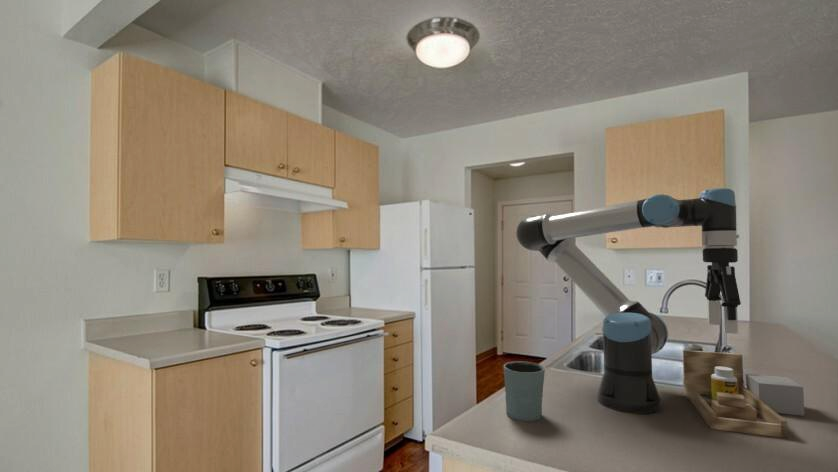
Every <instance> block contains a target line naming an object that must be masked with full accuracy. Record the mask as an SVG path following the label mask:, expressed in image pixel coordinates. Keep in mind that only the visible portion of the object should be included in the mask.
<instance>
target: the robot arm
mask: <svg viewBox="0 0 838 472" xmlns="http://www.w3.org/2000/svg"><path fill="white" fill-rule="evenodd" d="M694 226H695V227H700V226H701V245H702V247H704V248H703V249H702V261H703V263H711V264H709V265H707V272H706V273H707V274H706V282H705V283H706V284H705V291H704V297H705V298H706V300H707V317H708V319H707V320H708V324H707V325H716V326H721V323H722V320H721V316H723V317H722V318H723V333H724V334H735V335H737V334H739V326H738V325H739V324H738V306H740V305H742V302H741V299H740V298H741V297H740V293H739V288H738V284H737V277H736V270H735V269H736V268H735V266H730V263H733V264H735V263H738V258H739V257H738V254H739V253H738V249H737V248H736V247H737V245H738V240H737V239H739V238H740V234H737V204H736V195H735V191H734V190H732V189H731V188H723V187H722V188H712V189H704V190H702V191H701V192H700V196H699V197H697V198H689V199H677V198H674V197H672V196H670V195H669V194H668V195H667V194H654V195H652V196H649V197H647V198H644V199H638V200H633V201H628V202H627V201H626V202H621V203H616V204H610V205H605V206H601V207H600V206H599V207H595V208H589V209H584V210H580V211H575V212H567V213H561V214H557V215H552V214H551V213H545V214H538V215H529V216H526V217H525V218H523V219H522V220H521V221H520V222H519V223H518V225H517V228H516V233H515V234H516V238H517V241H518V243H519V244H520V245H521V247H523V248H525V249H527V250H528V251H529V250H530V251H535V252H536V251H538V252H540V254H541V255H542V256H543V257H544V258H545V259H546V260H547V261H548V262H549V263H550V262H552V263H556V264H557V266H558V267H560V269H561V270H562V271H563V273H565V274H566V275H567V276H568V277H569V279H570V280H571V281H572V282H573V283H574V284H575V286H577V287H578V288H579V289H580V290H581V292H582V293H584V295H585V296H586V297H587V298H588V299H589V300H590V301H591V302H592V304H594V305H595V307H596V308H597V309H598V310H599V311H600V312H601V313H602V315H604V316H605V317H604V318H603V323H602V330H601V331H602V341H603V343H602V344H603V373H602V374H603V375H602V377H601V381H600V384H599V387H598V389H597V400H598V402H599V403H600V404H601V405H603V406H605V407H606V408H607V407H608V408H610V409H613V410H617V411H621V412H625V413H632V414H633V413H634V414H651V413H657V412H658V411H660V410H661V408H662V403H661V397H660V394H659V391H658V388H657V385H656V383H655V381H654V377H653V358H652V357H653V355H655V354H657V353H658V352H659V351H661V350H663V348H664V347H665V345H666V344H667V341H668V338H669V330H668V326H667V324H666V323H665V322H664V320H663V319H662V318H661V317H660V316H658V315H657V314H655V313H653V312H649V310H647V309H646V307H644V306H643V305H642V304H641V303H640V302H639V301H637V300H636V301H635V300H630V298H628V297H627V296H626V295H625V294H624V293H623V292H622V291H621V290H620V289H619V287H617V286H616V284H614V283H613V282H612V281H611V280H610V279H609V277H607V276H606V275H605V273H604V272H602V271H601V269H600V268H599V267H597V265H596V264H595V263H594V262H593V261H592V260H591V259H590V258H589V257H588V256H587V255H586V254H585V253H584V252H583V251H582V250H581V249H580V248H579V247H578V246H577V245H576V240H577V239H576V238H580V237H589V236H594V235H595V236H596V235H602V234H609V233H615V232H623V231H630V230H636V229H643V228H650V227H654V228H665V229H667V228H668V229H669V228H682V227H683V228H684V227H694ZM720 294H721V296H720ZM721 301H723V302H722V303H721ZM721 307H722V312H723V313H722V315H721Z"/></svg>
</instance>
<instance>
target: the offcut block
mask: <svg viewBox="0 0 838 472" xmlns="http://www.w3.org/2000/svg"><path fill="white" fill-rule="evenodd" d="M717 401H718V404H719V405H726V406H734V407H742V408H745V398H744V397H743V395H739V394H730V393H721V392H717Z"/></svg>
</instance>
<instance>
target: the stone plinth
mask: <svg viewBox="0 0 838 472" xmlns="http://www.w3.org/2000/svg"><path fill="white" fill-rule="evenodd" d="M745 384H746V385H745V386H746V387H745V388H747V389H748V390H749V391H750V392H751V393H753V394H754V395H755V396H756V397H758V398H759V399H760V400H761V401H762V402H764V403H765V404H766V405H767V406H768V407H770V408H771V409H772V410H773V411H775V412H776V413H777V414H783V415H784V414H786V415H793V416H805V401H804V400H805V399H804V395H805V394H804V387H803V386H802V385H800V384H799V383H797V382H796V381H794V380H792V379H791V378H789V377H787V376H777V375H766V374H765V375H764V374H752V373H745Z"/></svg>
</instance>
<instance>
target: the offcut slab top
mask: <svg viewBox="0 0 838 472" xmlns="http://www.w3.org/2000/svg"><path fill="white" fill-rule="evenodd" d="M710 401H711V402H710V403H711V405H710V407H711V408H712V410H713V411H714V412H715V413H716V416H717V417H723V418H732V419H741V420H750V421H758V415H757V410H756V409H755V408H753V407H752V406H751V405H750V404H745V408H742V407H734V406H726V405H719V404H718V401H715V400H712V399H711V400H710Z"/></svg>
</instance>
